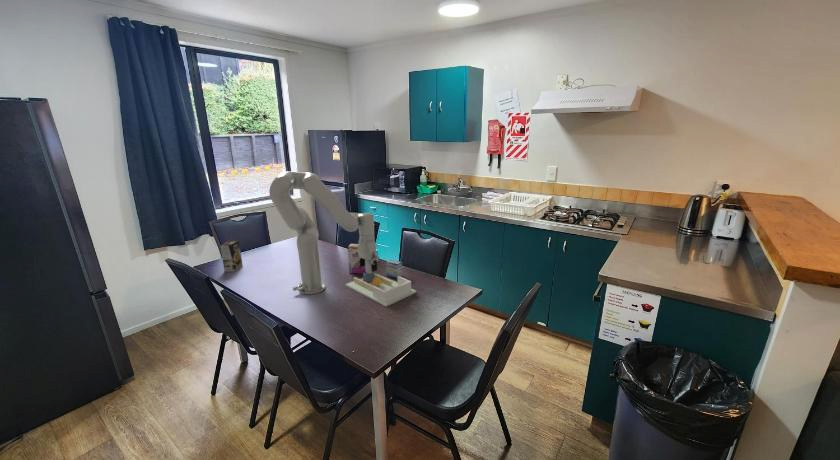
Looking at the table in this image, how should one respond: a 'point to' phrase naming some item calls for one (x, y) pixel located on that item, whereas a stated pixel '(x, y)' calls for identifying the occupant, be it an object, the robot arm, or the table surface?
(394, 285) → the white tray
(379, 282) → the ball
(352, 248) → the candy bar box
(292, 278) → the table surface
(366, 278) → the kicker
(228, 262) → the coffee box
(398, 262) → the medicine box
